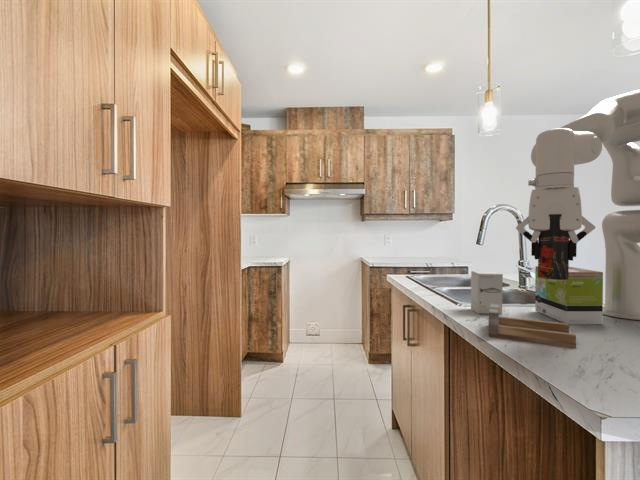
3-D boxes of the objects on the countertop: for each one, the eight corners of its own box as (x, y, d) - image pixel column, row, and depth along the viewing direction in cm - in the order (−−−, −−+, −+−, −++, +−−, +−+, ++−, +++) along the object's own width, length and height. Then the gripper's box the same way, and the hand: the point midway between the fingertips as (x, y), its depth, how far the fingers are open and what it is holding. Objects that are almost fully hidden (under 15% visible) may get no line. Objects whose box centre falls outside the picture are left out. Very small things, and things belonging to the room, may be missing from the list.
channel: (490, 324, 91) (490, 303, 91) (567, 333, 83) (568, 310, 83) (488, 336, 81) (488, 312, 80) (576, 348, 72) (576, 321, 72)
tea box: (533, 311, 106) (534, 265, 106) (566, 312, 105) (567, 265, 105) (565, 324, 91) (566, 270, 91) (604, 325, 90) (605, 270, 90)
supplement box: (477, 314, 103) (477, 273, 103) (470, 308, 110) (470, 270, 110) (502, 315, 102) (503, 273, 101) (494, 309, 109) (494, 271, 109)
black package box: (574, 279, 76) (575, 214, 76) (547, 279, 76) (548, 214, 76) (557, 276, 82) (558, 215, 82) (532, 276, 82) (533, 215, 82)
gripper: (512, 183, 80) (511, 259, 80) (605, 178, 71) (603, 262, 72) (511, 187, 86) (511, 257, 87) (597, 182, 78) (595, 260, 78)
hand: (553, 258), depth 79 cm, fingers closed on black package box, 5 cm apart
